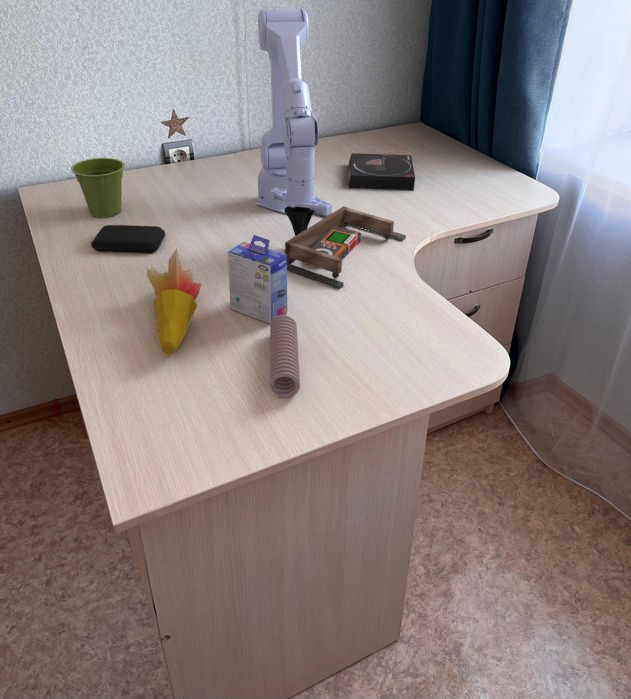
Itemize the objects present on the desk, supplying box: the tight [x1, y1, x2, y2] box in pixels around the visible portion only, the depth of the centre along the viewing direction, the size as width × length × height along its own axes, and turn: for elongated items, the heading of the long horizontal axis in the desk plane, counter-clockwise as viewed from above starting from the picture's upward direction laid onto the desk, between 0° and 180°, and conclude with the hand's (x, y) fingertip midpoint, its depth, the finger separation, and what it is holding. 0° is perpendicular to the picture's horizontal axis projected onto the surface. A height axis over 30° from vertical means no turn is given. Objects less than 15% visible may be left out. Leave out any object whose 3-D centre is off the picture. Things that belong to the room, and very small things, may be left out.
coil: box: [269, 314, 301, 399], centre depth 110 cm, size 5×5×18 cm
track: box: [287, 211, 407, 290], centre depth 146 cm, size 26×28×1 cm
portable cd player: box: [347, 152, 416, 192], centre depth 178 cm, size 16×17×4 cm
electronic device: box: [312, 226, 361, 268], centre depth 143 cm, size 7×3×15 cm
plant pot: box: [70, 157, 125, 218], centre depth 156 cm, size 12×12×11 cm
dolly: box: [284, 206, 395, 279], centre depth 143 cm, size 13×23×4 cm, turn 145°
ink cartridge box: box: [226, 234, 288, 324], centre depth 120 cm, size 10×6×14 cm, turn 58°
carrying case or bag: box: [90, 224, 166, 254], centre depth 146 cm, size 11×3×15 cm
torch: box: [146, 248, 203, 355], centre depth 119 cm, size 8×8×25 cm
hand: (300, 237), depth 144 cm, fingers closed
